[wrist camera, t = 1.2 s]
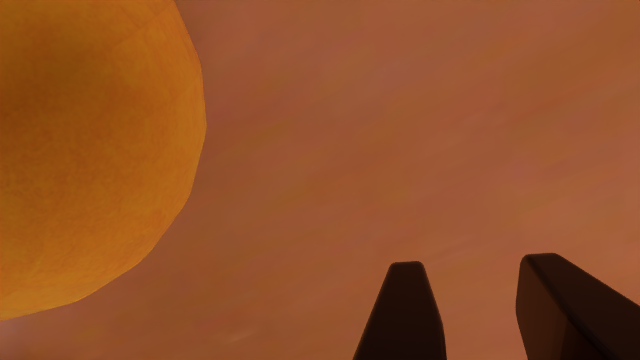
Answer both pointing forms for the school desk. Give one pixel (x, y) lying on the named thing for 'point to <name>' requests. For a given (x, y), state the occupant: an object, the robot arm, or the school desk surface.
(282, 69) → the school desk surface
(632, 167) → the school desk surface
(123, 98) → the fruit
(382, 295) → the robot arm
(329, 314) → the school desk surface
